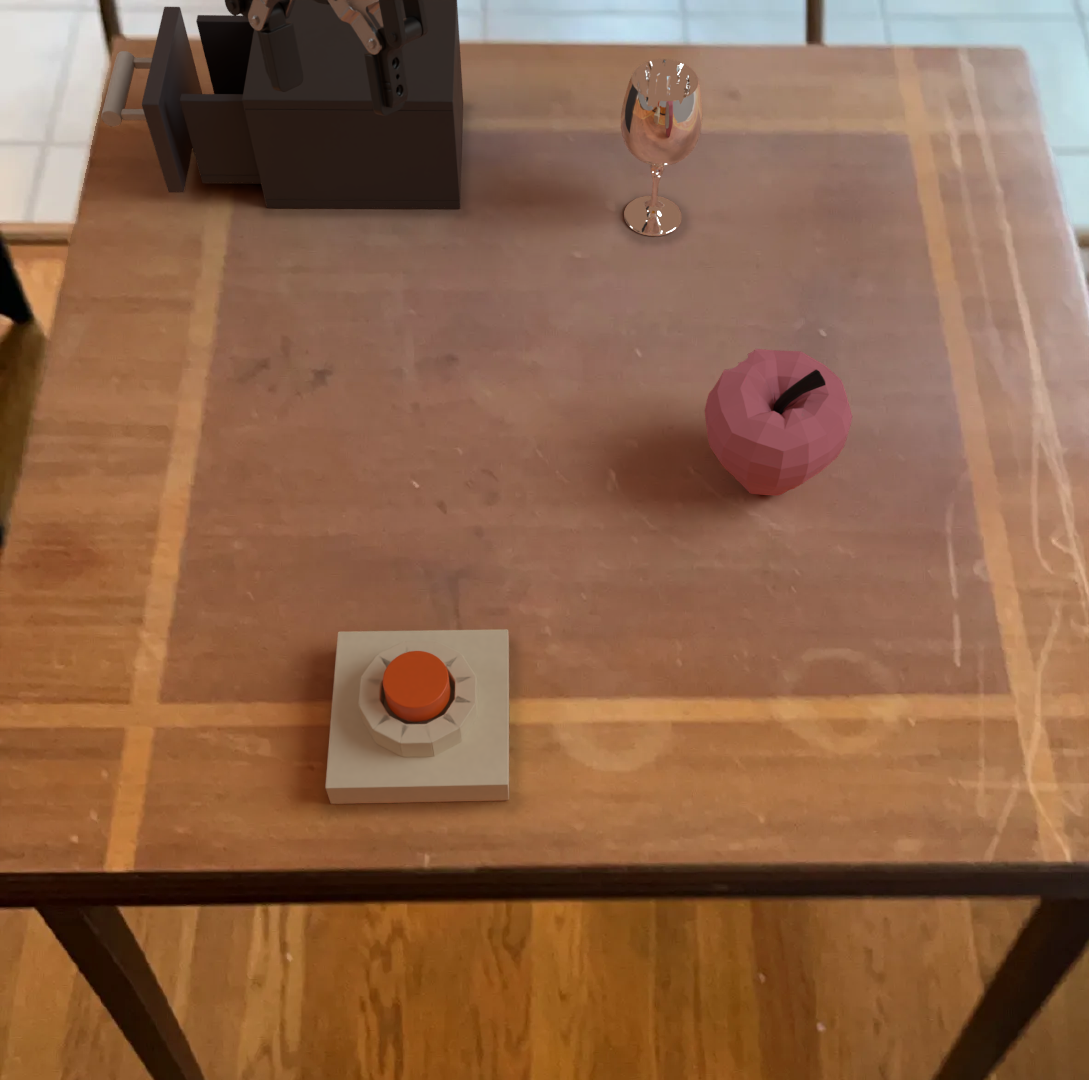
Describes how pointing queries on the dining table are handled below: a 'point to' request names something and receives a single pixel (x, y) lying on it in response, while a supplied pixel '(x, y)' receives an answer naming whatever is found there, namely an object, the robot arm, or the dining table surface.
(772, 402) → the apple
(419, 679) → the button
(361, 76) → the dark brown box
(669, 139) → the wineglass
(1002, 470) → the dining table surface
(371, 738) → the control block
